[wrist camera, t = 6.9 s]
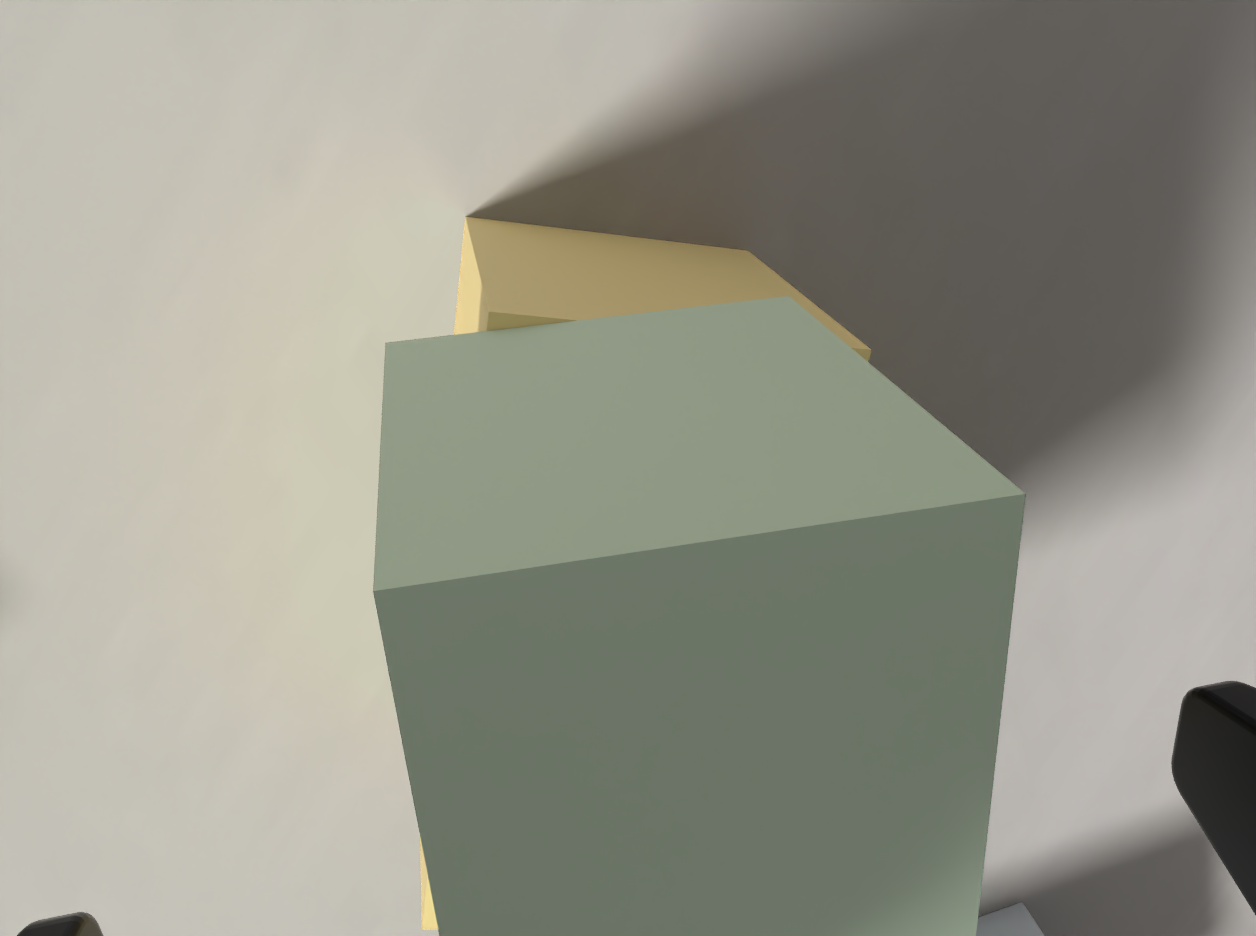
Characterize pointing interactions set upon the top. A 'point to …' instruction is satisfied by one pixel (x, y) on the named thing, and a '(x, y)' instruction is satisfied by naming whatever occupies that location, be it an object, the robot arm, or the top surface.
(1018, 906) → the slate brick
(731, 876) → the sage brick
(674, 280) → the ochre brick
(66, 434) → the top surface
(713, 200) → the top surface
